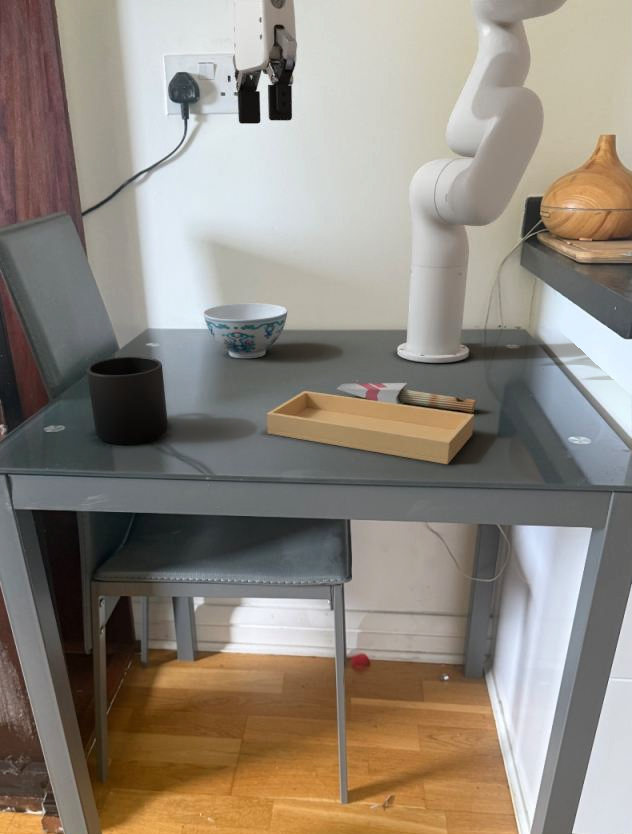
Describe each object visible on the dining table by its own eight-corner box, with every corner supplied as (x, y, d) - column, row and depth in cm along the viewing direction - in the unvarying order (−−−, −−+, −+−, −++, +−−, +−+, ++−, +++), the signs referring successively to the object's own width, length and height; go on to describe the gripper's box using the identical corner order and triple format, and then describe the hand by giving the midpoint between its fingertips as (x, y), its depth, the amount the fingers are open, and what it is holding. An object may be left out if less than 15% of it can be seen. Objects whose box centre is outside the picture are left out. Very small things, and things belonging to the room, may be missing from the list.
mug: (181, 415, 101) (175, 351, 97) (156, 446, 90) (149, 376, 86) (116, 414, 102) (108, 351, 98) (85, 444, 91) (74, 375, 87)
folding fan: (344, 373, 107) (478, 393, 100) (343, 390, 108) (475, 412, 101) (335, 380, 104) (472, 401, 97) (334, 398, 105) (469, 420, 98)
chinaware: (303, 349, 133) (303, 307, 130) (257, 368, 122) (255, 323, 118) (238, 340, 140) (236, 300, 137) (189, 357, 129) (186, 314, 126)
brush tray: (304, 409, 102) (304, 390, 101) (472, 435, 92) (474, 414, 91) (267, 433, 94) (266, 413, 92) (447, 464, 83) (449, 442, 82)
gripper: (319, -45, 85) (319, 119, 93) (258, -16, 99) (262, 124, 106) (263, -52, 82) (267, 118, 90) (207, -21, 96) (215, 124, 103)
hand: (264, 121), depth 98 cm, fingers open, 9 cm apart
